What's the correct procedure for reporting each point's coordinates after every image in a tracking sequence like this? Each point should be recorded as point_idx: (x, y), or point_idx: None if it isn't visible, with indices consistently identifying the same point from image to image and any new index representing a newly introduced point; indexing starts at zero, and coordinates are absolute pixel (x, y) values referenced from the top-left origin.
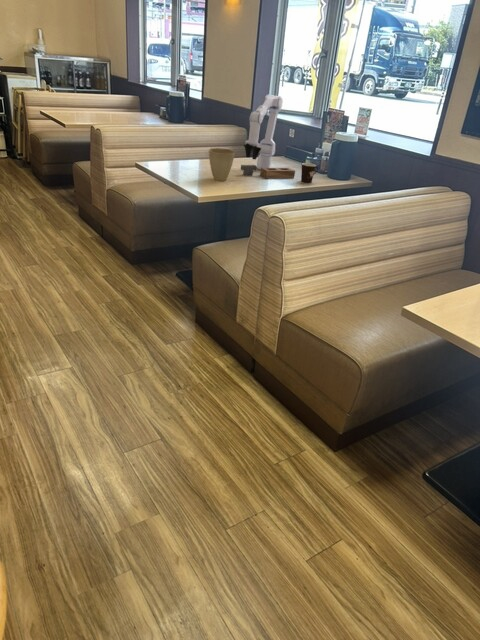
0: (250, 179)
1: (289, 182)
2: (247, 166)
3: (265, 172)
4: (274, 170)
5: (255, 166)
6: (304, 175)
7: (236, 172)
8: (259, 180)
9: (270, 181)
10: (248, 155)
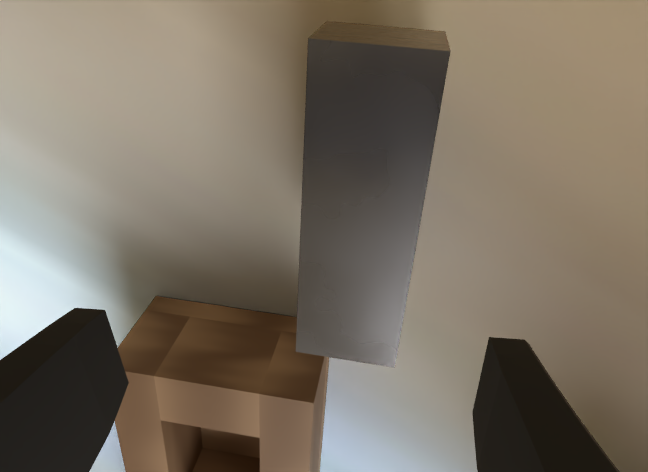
0: (69, 15)
1: None
2: (307, 159)
3: (160, 349)
4: (141, 466)
5: (298, 327)
6: None
7: (621, 23)
8: (30, 139)
9: (5, 258)
10: (488, 428)
